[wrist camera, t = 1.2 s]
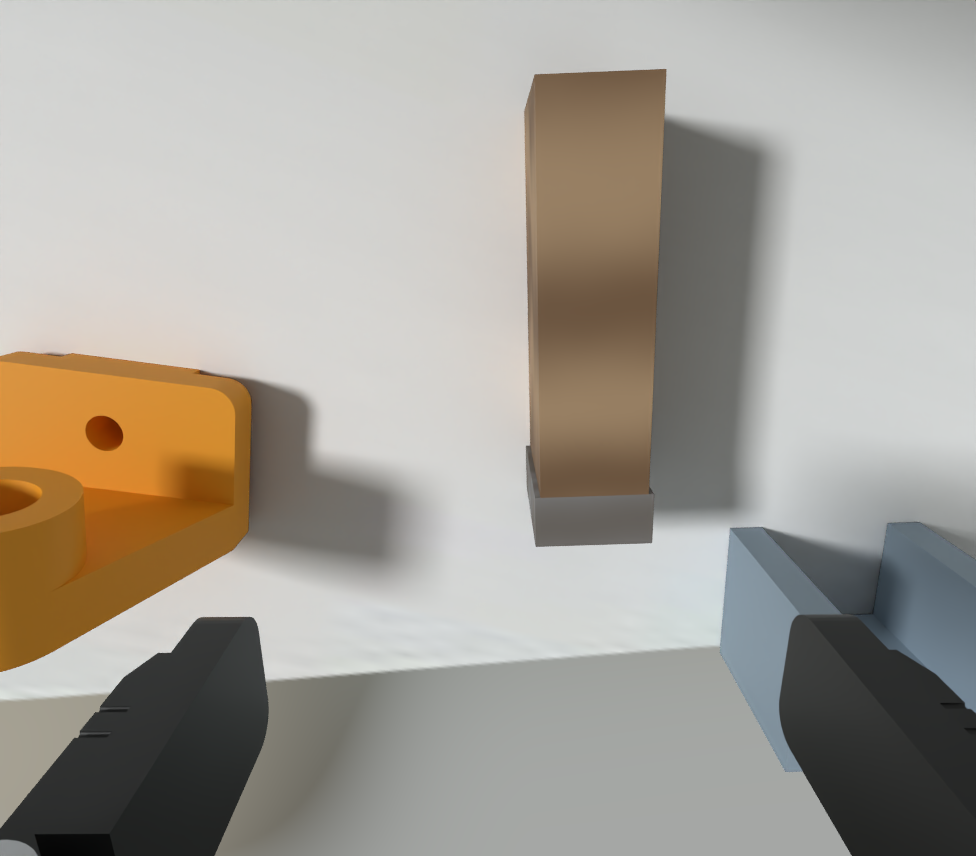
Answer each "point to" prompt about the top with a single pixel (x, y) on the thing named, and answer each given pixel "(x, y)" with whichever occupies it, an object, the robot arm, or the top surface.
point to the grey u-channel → (895, 620)
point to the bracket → (110, 489)
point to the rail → (592, 302)
